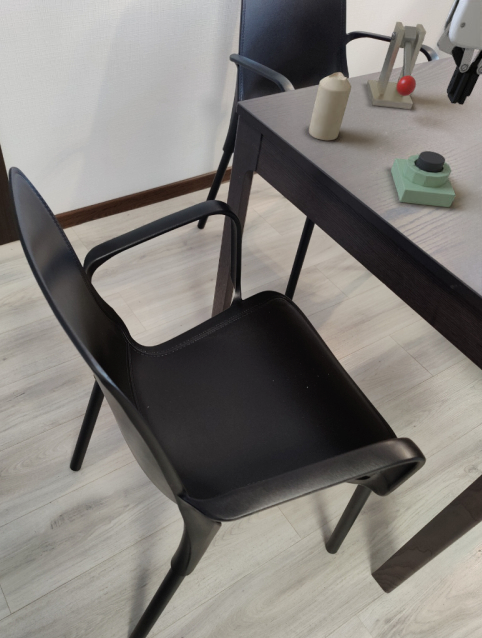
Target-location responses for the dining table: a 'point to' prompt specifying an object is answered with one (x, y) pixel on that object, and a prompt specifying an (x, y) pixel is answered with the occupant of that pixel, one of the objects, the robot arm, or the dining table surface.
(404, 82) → the lever
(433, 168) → the button
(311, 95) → the dining table surface
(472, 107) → the dining table surface
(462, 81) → the robot arm
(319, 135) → the candle
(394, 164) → the button box
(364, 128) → the dining table surface
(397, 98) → the bracket
